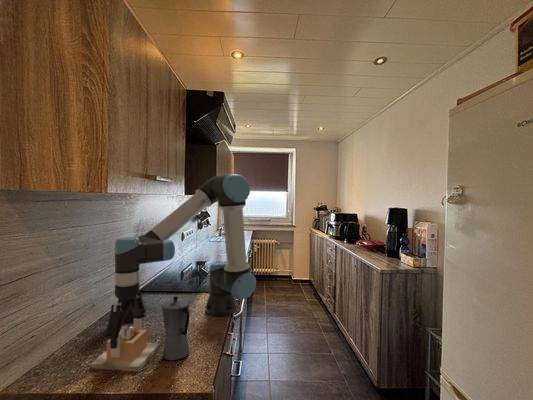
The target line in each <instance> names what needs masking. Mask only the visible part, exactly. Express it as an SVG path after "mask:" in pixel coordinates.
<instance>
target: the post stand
mask: <svg viewBox="0 0 533 400" xmlns="http://www.w3.org/2000/svg"><path fill="white" fill-rule="evenodd" d="M120 331H121V340H129V341H131V340H132V339H133V338H134V323H133V324H132V323H126V324H124V325H122V327H121V330H120ZM160 346H161V345H160V343H157V342H147V347H146V348H145V349H144V350H143V351H142V352H141V353H140V354H139V356H138V357H137V358H136V359H135V360H134V361H133V362H131V361H117V360H107V349H106V350H105V351H104V352H103V353H102V354H100V355H99V356H98V357H97V358H96V359H94V360H93V361H92V362H91V363H90V369H97V370H108V371H110V370H111V371H121V372H122V371H123V372H136V373H137V372H138V373H139V372H140V371H141V370H142V369H143V367H145V365H146V364H147V363H148V361H149V360H150V359H151V358H152V357H153V356H154V355H155V353H157V351H158V350H159V349H160Z"/></svg>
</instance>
